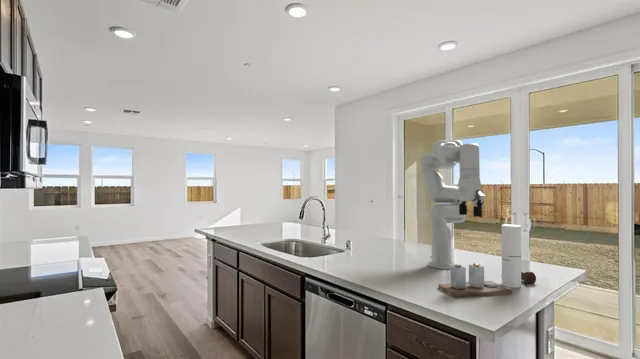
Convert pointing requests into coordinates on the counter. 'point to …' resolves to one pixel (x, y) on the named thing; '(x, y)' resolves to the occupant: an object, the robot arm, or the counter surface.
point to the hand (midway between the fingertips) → (470, 215)
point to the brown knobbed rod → (528, 277)
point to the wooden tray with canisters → (463, 289)
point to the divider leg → (476, 275)
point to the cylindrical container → (511, 255)
